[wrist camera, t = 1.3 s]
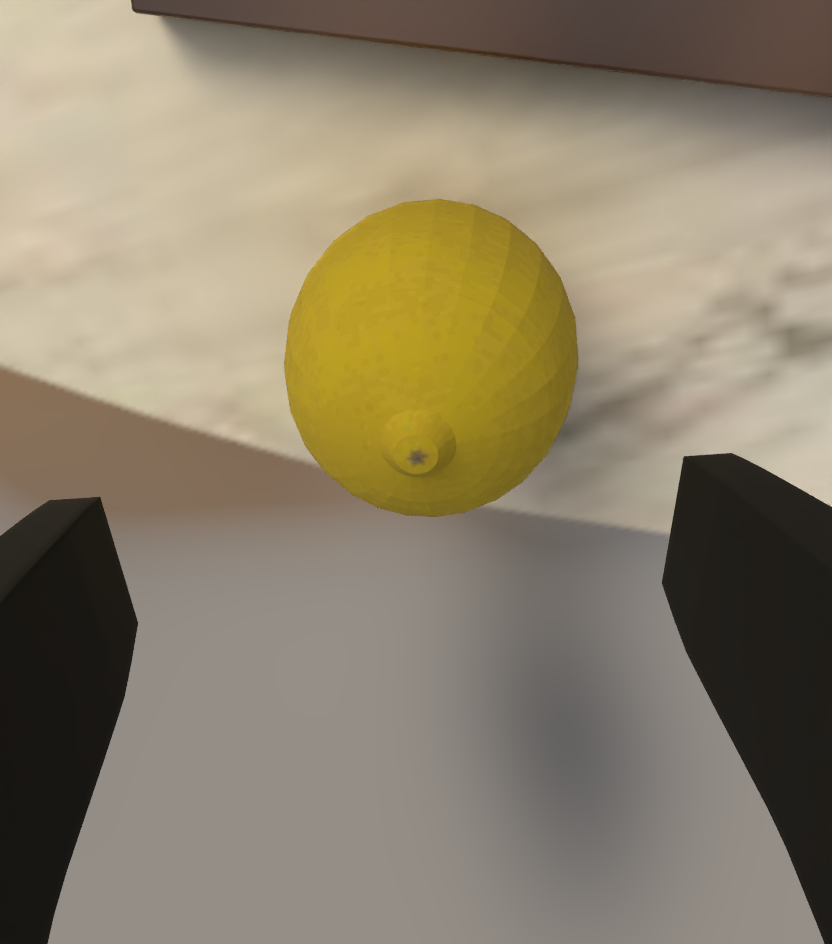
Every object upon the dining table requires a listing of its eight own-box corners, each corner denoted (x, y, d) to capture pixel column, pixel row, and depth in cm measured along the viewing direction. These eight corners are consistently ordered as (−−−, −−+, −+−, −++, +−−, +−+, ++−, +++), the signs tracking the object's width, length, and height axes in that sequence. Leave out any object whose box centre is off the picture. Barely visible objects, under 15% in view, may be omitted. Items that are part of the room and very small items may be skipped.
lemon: (371, 415, 21) (312, 624, 14) (292, 206, 18) (171, 335, 11) (582, 363, 19) (632, 564, 12) (531, 131, 17) (560, 224, 10)
